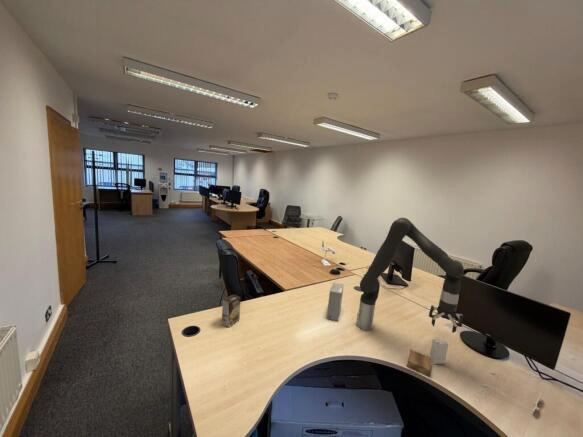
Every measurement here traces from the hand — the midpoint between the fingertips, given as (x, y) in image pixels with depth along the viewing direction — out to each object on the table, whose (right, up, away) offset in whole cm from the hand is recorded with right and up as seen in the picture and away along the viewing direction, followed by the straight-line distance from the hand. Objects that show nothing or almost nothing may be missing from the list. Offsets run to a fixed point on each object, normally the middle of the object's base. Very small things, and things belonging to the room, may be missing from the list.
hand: (443, 328), depth 122 cm
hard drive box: (-49, -9, +40) cm, 64 cm away
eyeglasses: (+22, -24, -13) cm, 35 cm away
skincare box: (-1, -19, +3) cm, 19 cm away
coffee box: (-116, -7, +23) cm, 118 cm away
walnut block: (-13, -19, 0) cm, 23 cm away
